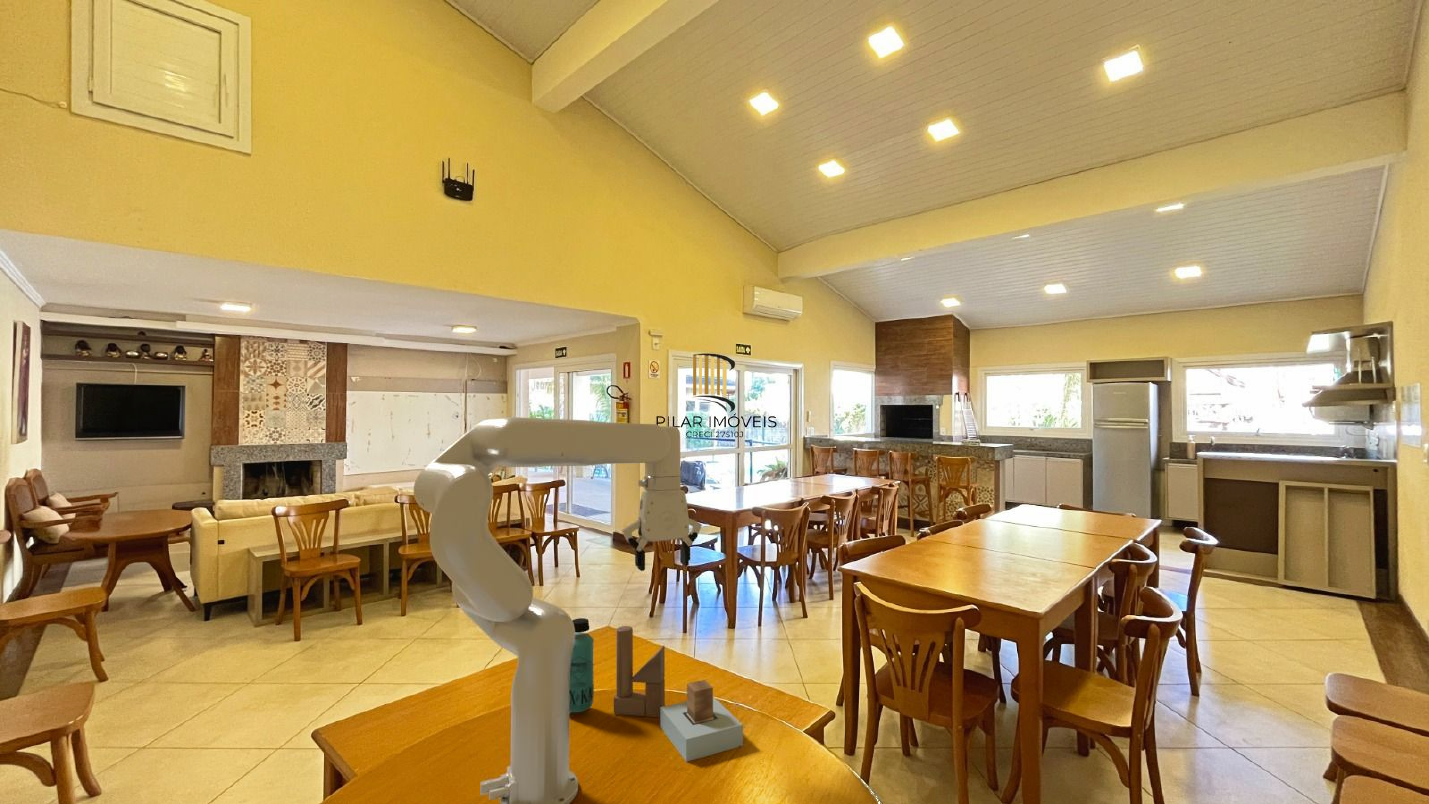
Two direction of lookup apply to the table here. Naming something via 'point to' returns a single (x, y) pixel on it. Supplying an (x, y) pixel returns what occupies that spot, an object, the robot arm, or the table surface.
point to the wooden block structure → (638, 679)
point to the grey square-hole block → (701, 731)
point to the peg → (699, 702)
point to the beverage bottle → (581, 669)
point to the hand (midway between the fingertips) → (663, 566)
